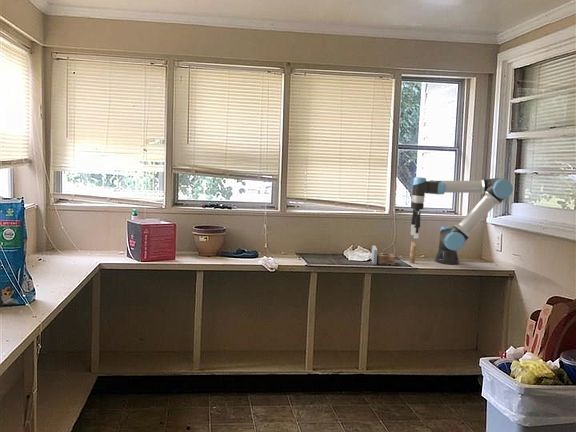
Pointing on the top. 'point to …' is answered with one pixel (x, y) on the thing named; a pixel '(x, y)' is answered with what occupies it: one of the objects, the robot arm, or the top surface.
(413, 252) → the dowel
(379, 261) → the block
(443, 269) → the top surface
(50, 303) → the top surface
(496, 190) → the robot arm
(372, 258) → the backstop
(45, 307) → the top surface
